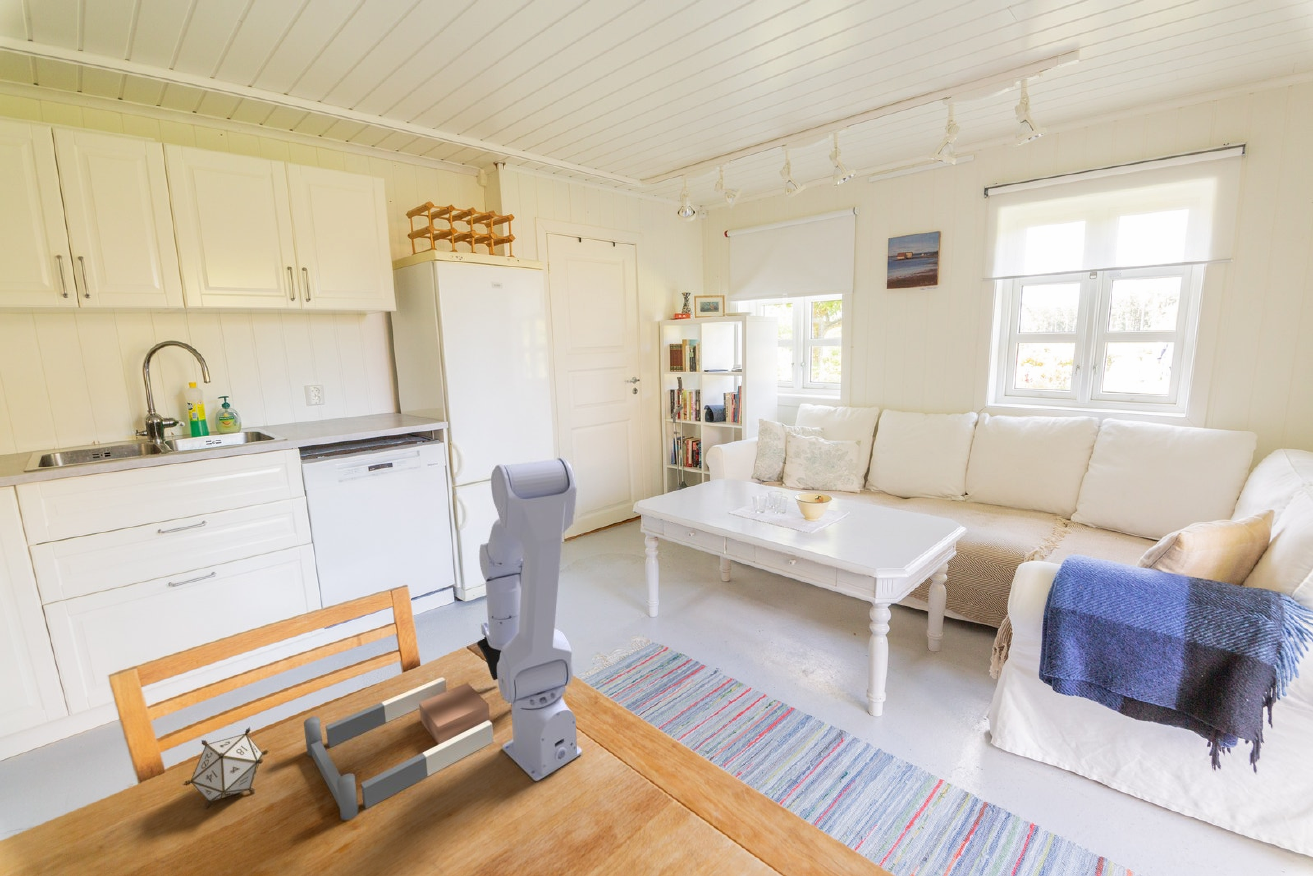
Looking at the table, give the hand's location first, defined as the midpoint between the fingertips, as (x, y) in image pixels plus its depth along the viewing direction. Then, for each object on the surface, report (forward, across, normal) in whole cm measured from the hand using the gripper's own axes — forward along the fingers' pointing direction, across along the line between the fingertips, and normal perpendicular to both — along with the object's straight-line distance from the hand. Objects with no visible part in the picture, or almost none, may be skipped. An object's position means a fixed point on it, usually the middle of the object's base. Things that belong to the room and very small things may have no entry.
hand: (509, 686), depth 98 cm
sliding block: (+2, 0, +10) cm, 10 cm away
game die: (+2, +7, +38) cm, 38 cm away
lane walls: (+2, 0, +13) cm, 13 cm away
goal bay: (+2, 0, +23) cm, 23 cm away
